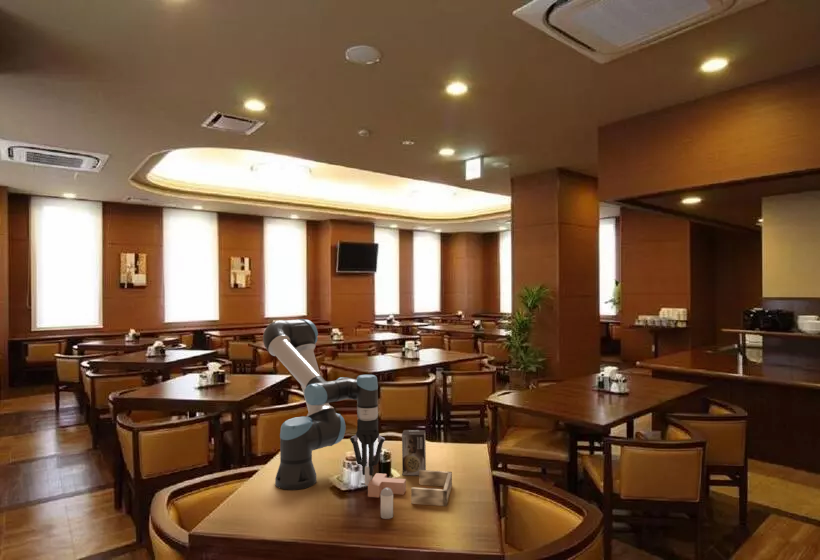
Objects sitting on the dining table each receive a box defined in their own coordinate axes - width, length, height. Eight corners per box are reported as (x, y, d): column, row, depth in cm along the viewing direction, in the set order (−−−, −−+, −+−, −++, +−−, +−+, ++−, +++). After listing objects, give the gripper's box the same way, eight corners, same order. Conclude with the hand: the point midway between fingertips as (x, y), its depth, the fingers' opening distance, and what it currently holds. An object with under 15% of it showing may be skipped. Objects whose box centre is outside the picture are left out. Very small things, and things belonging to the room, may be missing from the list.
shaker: (379, 518, 159) (379, 489, 159) (382, 512, 162) (382, 485, 163) (391, 519, 158) (391, 490, 158) (394, 513, 162) (394, 486, 162)
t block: (367, 496, 176) (367, 485, 176) (376, 483, 187) (376, 473, 188) (401, 499, 174) (401, 487, 174) (407, 486, 185) (407, 475, 185)
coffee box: (426, 470, 202) (426, 429, 202) (425, 476, 195) (424, 434, 196) (403, 469, 203) (403, 429, 203) (401, 475, 196) (401, 433, 197)
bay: (411, 503, 170) (411, 488, 170) (419, 483, 188) (419, 469, 188) (446, 506, 168) (446, 491, 168) (451, 485, 186) (451, 471, 186)
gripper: (347, 420, 180) (347, 486, 179) (382, 421, 178) (383, 488, 177) (353, 415, 187) (353, 479, 187) (387, 416, 185) (387, 481, 184)
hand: (367, 483), depth 182 cm, fingers closed
